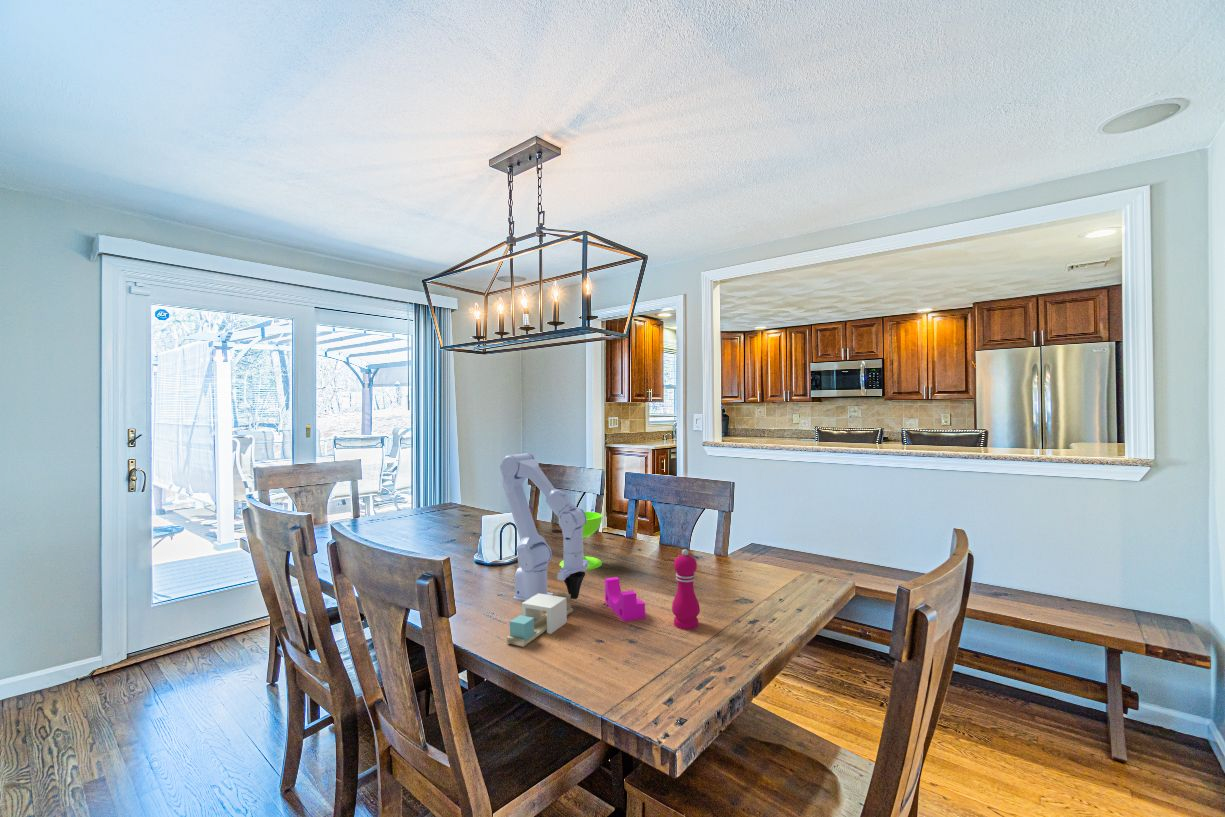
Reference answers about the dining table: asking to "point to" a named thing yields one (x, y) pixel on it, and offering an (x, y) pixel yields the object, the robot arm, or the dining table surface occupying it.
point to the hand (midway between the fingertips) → (573, 598)
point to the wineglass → (588, 530)
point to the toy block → (623, 601)
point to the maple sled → (540, 624)
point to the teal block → (522, 627)
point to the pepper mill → (685, 593)
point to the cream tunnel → (548, 603)
